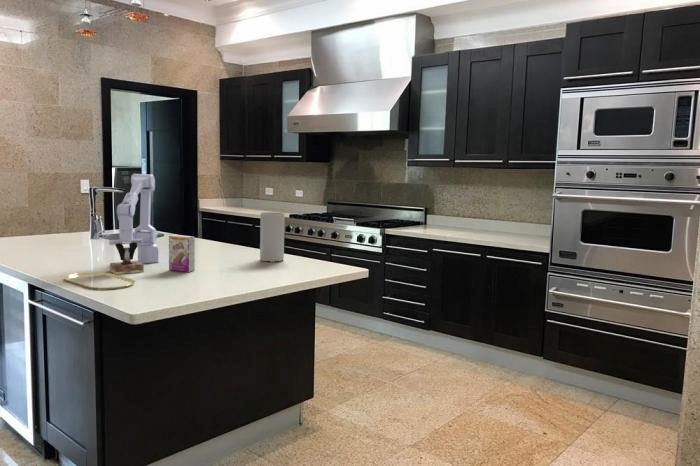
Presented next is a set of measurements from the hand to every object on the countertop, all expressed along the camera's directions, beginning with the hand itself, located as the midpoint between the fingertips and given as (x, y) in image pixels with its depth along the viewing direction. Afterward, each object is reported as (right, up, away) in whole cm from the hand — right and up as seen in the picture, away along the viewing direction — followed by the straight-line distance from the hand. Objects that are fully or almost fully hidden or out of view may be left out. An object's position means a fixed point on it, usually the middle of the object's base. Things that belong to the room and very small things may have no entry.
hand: (126, 259), depth 250 cm
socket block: (0, -5, +1) cm, 5 cm away
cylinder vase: (+61, -3, +41) cm, 73 cm away
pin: (0, -3, 0) cm, 3 cm away
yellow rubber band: (-2, -9, -22) cm, 24 cm away
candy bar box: (+23, -6, +6) cm, 25 cm away
